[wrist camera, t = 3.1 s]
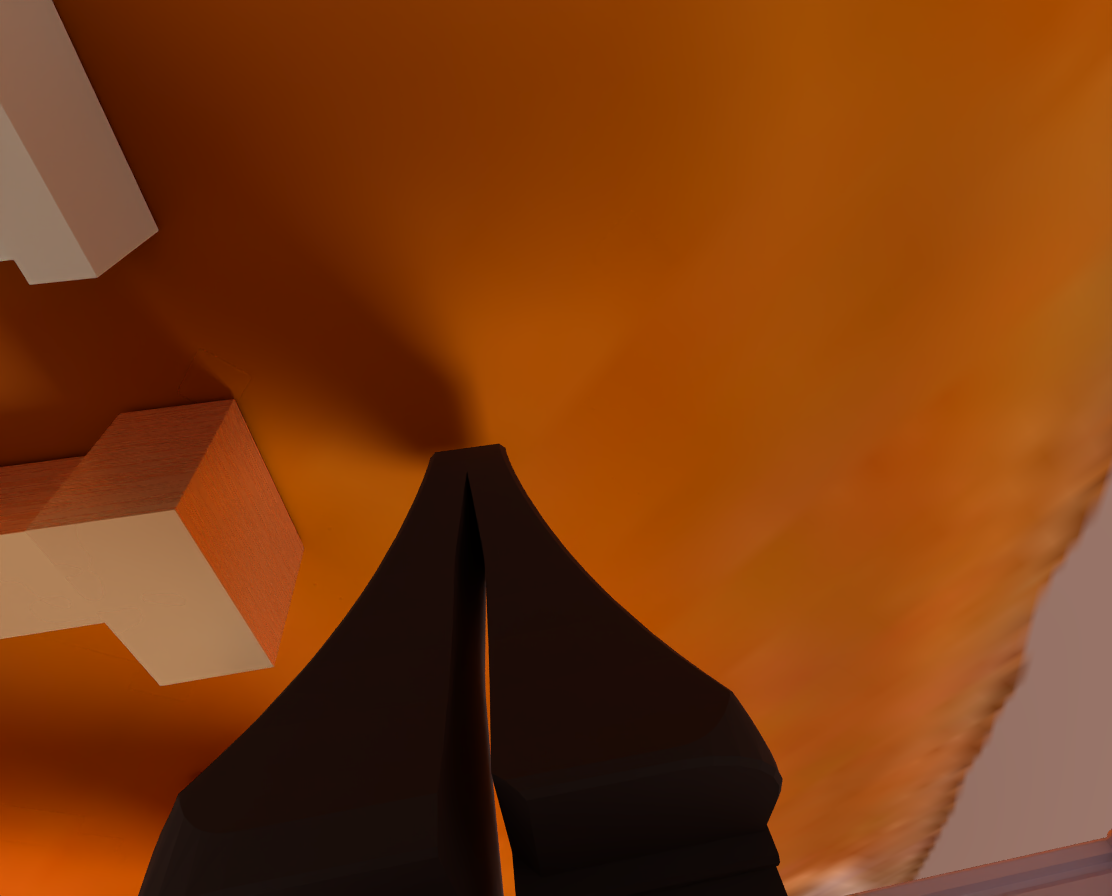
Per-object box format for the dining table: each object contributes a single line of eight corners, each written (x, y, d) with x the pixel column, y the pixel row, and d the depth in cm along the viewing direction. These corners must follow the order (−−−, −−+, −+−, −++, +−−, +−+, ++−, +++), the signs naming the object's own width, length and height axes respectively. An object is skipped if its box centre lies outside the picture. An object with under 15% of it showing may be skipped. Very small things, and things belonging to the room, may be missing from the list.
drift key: (304, 547, 13) (273, 667, 11) (-5, 594, 12) (-110, 731, 10) (234, 398, 11) (174, 510, 8) (-155, 448, 10) (-340, 582, 8)
